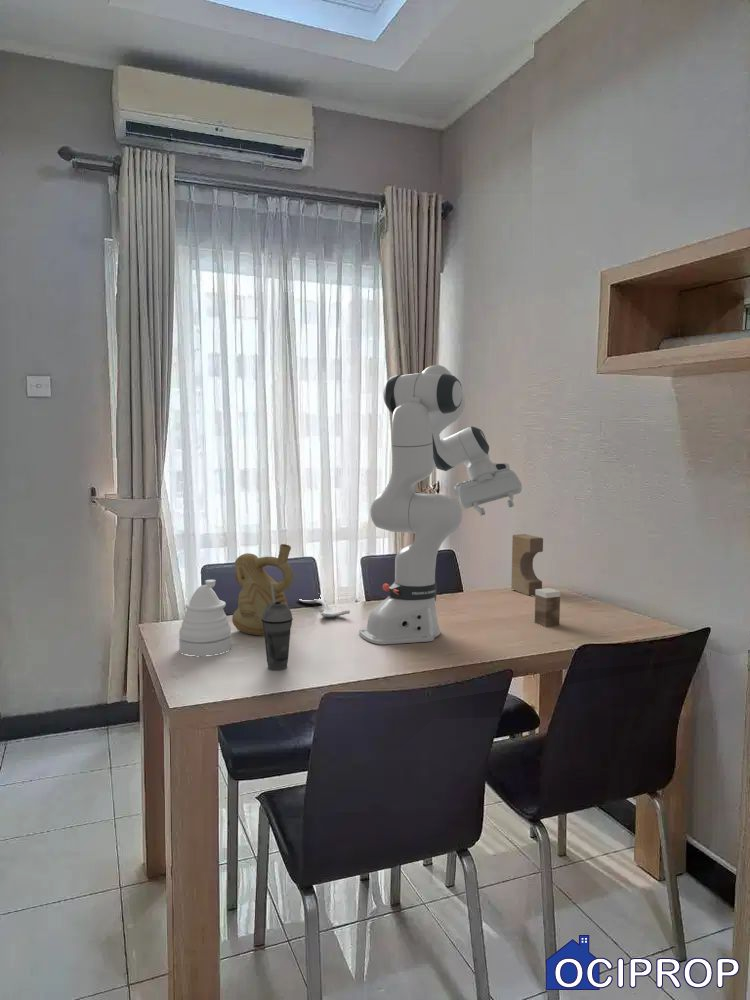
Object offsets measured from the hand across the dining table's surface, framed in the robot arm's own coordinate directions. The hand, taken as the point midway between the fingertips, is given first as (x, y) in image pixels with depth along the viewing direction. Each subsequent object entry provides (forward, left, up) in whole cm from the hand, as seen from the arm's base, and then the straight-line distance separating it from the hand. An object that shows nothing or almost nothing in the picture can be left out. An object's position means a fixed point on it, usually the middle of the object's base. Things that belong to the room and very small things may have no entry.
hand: (497, 510), depth 216 cm
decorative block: (+24, +16, -32) cm, 43 cm away
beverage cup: (-79, -27, -32) cm, 90 cm away
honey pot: (-92, -6, -32) cm, 98 cm away
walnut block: (+4, -21, -32) cm, 38 cm away
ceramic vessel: (-74, +5, -32) cm, 81 cm away
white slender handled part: (-51, +22, -32) cm, 64 cm away
